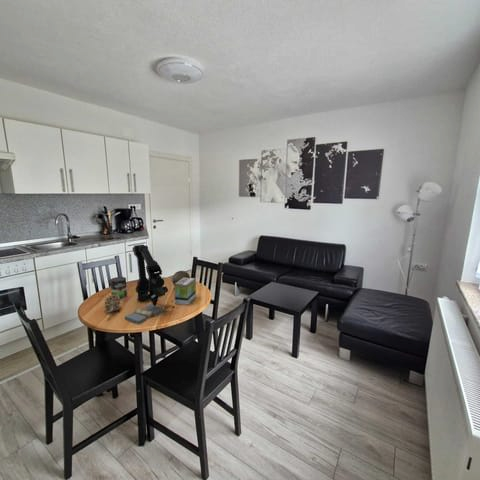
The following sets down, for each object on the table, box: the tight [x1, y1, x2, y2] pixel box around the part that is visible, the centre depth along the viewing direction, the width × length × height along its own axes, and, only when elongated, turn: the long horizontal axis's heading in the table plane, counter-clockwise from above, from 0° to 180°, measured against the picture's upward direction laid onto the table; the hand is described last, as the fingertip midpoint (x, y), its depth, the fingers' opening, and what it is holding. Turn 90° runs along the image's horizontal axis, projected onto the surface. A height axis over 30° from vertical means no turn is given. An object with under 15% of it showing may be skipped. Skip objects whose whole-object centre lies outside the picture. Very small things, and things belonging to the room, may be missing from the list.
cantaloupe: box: [171, 270, 191, 287], centre depth 200 cm, size 14×14×15 cm
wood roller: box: [133, 307, 154, 319], centre depth 157 cm, size 4×11×4 cm, turn 67°
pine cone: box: [104, 294, 122, 314], centre depth 160 cm, size 22×10×10 cm, turn 21°
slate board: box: [124, 303, 165, 325], centre depth 158 cm, size 20×12×2 cm, turn 151°
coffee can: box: [109, 276, 128, 301], centre depth 183 cm, size 10×10×14 cm
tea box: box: [174, 277, 197, 306], centre depth 179 cm, size 15×10×15 cm
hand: (154, 305), depth 164 cm, fingers closed
